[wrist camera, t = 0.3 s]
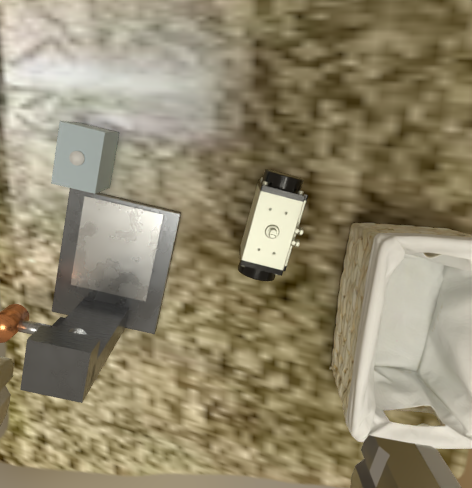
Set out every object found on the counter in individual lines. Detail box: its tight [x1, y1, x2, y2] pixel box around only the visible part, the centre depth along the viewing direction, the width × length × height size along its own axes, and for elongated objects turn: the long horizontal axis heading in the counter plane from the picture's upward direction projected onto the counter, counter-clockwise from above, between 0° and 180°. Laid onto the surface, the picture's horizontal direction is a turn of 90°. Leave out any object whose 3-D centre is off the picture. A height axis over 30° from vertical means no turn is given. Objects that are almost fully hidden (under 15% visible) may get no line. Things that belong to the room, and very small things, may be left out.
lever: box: [0, 304, 52, 343], centre depth 50 cm, size 3×6×4 cm, turn 76°
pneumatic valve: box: [238, 169, 308, 281], centre depth 50 cm, size 6×12×12 cm, turn 165°
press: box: [21, 188, 181, 403], centre depth 49 cm, size 23×14×18 cm, turn 166°
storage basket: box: [330, 223, 472, 449], centre depth 51 cm, size 24×16×15 cm
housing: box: [51, 121, 119, 194], centre depth 51 cm, size 7×5×6 cm
